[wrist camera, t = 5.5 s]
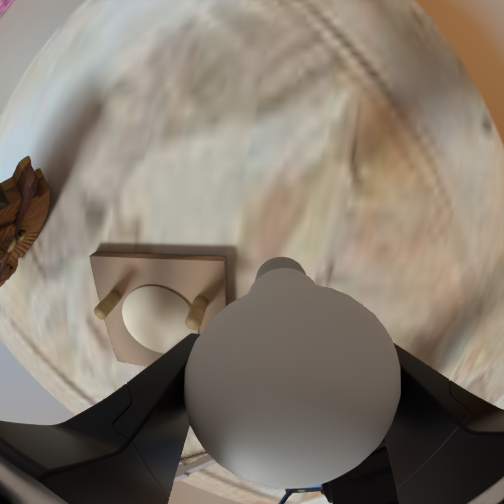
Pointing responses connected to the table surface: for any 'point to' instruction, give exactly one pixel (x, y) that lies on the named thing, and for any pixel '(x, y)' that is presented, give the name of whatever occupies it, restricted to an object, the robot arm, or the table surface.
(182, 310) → the pin holder
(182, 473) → the caliper
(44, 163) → the table surface
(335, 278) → the table surface
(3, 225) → the wooden carving
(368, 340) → the lightbulb
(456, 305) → the table surface
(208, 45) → the table surface
